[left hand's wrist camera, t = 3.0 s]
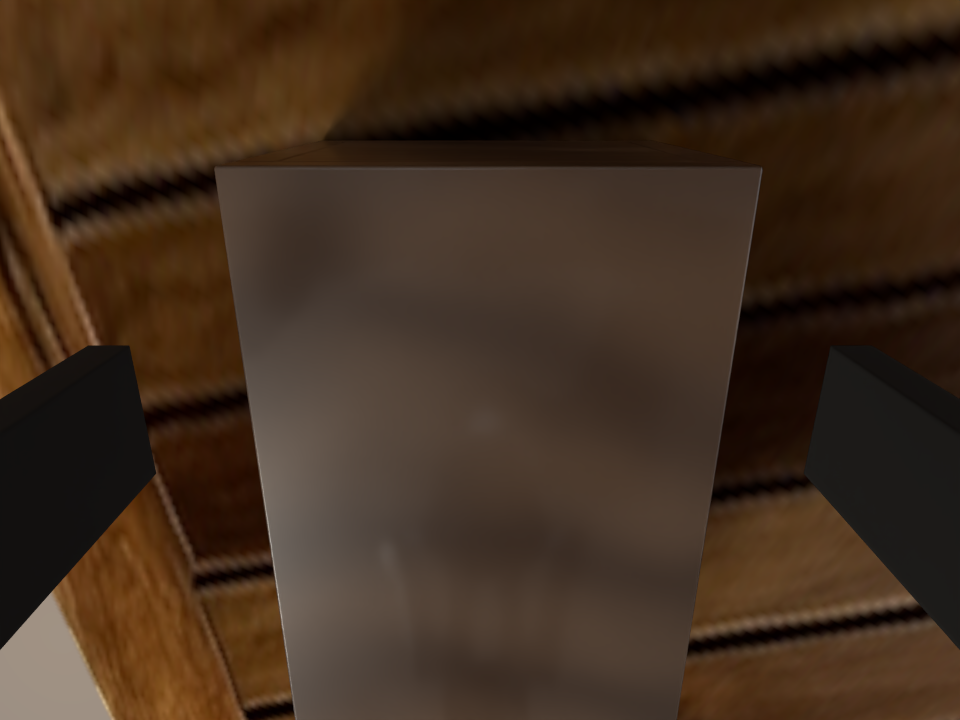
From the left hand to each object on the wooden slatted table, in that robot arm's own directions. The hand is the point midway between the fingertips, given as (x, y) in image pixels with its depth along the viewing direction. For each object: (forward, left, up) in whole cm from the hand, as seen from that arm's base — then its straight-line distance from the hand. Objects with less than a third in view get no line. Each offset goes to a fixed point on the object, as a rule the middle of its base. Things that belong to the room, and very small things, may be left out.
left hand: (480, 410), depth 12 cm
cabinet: (+1, +6, -13) cm, 14 cm away
